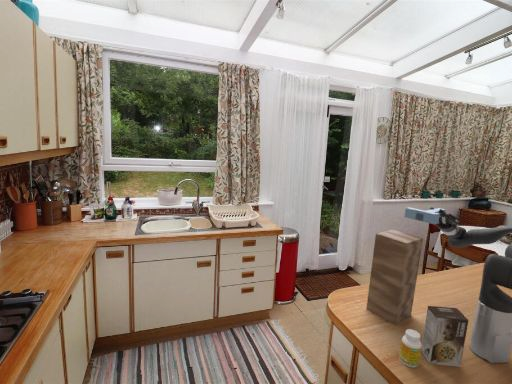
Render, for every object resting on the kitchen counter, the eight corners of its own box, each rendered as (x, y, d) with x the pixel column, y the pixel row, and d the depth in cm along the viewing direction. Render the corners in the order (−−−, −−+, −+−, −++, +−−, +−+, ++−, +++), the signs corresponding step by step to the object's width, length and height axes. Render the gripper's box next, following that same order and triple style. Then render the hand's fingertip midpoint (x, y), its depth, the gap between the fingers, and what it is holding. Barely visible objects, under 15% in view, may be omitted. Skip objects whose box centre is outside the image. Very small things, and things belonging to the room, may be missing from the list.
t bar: (427, 212, 132) (428, 203, 132) (456, 218, 123) (457, 209, 122) (404, 217, 121) (405, 207, 120) (434, 224, 111) (436, 214, 111)
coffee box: (448, 352, 93) (457, 307, 90) (460, 367, 87) (470, 320, 84) (419, 349, 94) (427, 304, 91) (429, 364, 88) (437, 316, 85)
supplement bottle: (408, 369, 85) (412, 340, 84) (395, 356, 90) (399, 328, 89) (422, 366, 87) (427, 337, 85) (409, 353, 92) (413, 326, 90)
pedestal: (383, 300, 123) (392, 229, 117) (411, 314, 113) (423, 238, 108) (366, 308, 116) (375, 233, 111) (394, 324, 107) (406, 243, 101)
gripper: (434, 214, 139) (421, 199, 130) (467, 221, 128) (457, 205, 118) (428, 228, 138) (415, 214, 129) (461, 236, 127) (450, 222, 117)
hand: (435, 210), depth 123 cm, fingers closed on t bar, 3 cm apart
